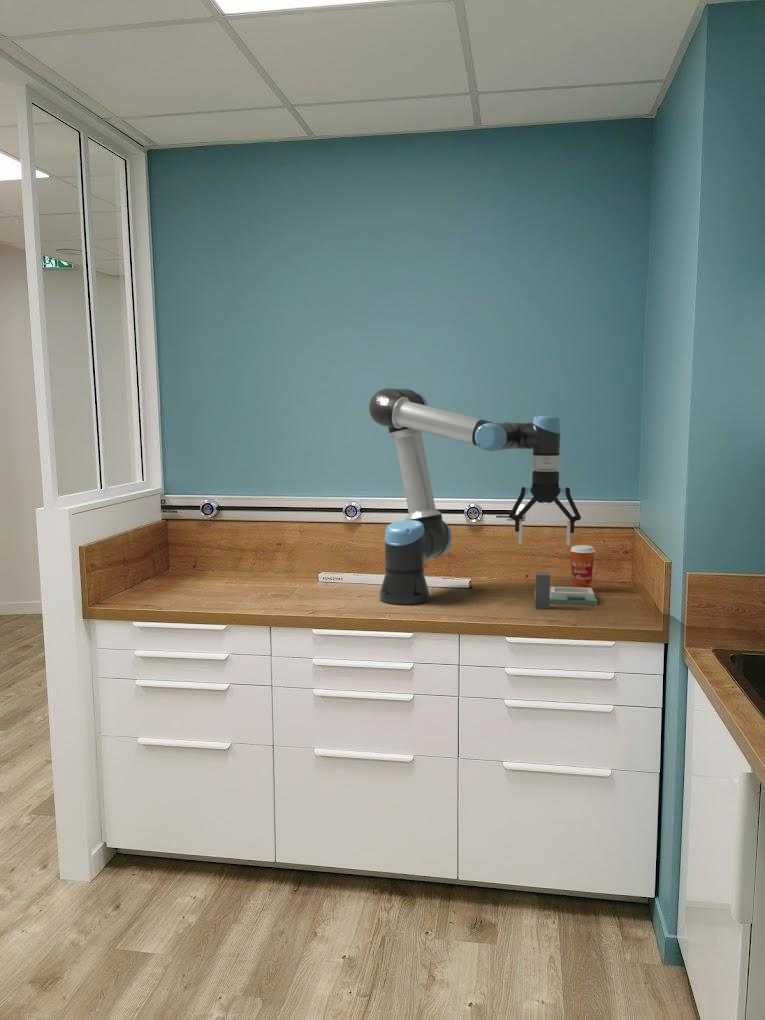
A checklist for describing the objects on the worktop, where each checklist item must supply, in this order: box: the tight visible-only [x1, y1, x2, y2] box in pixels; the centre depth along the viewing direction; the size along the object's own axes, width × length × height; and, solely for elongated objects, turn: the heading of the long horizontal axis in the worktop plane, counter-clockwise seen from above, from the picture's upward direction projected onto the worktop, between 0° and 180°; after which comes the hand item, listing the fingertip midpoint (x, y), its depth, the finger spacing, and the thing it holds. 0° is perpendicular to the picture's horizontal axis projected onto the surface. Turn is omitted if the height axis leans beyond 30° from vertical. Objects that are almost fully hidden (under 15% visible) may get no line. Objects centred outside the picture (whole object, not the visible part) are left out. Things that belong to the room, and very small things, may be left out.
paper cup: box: [569, 544, 597, 588], centre depth 259 cm, size 8×8×14 cm
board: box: [533, 585, 598, 606], centre depth 248 cm, size 18×14×3 cm
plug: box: [534, 571, 551, 610], centre depth 237 cm, size 4×5×10 cm
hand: (544, 543), depth 235 cm, fingers open, 13 cm apart
